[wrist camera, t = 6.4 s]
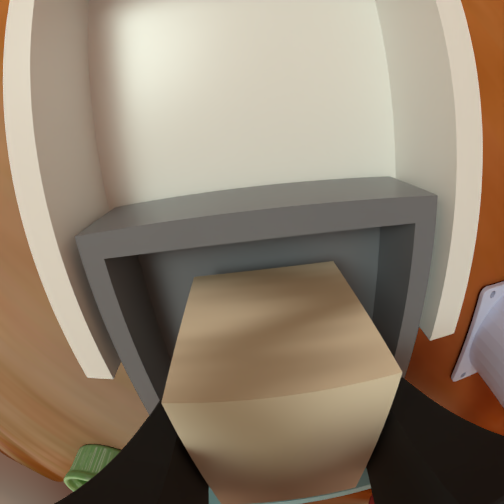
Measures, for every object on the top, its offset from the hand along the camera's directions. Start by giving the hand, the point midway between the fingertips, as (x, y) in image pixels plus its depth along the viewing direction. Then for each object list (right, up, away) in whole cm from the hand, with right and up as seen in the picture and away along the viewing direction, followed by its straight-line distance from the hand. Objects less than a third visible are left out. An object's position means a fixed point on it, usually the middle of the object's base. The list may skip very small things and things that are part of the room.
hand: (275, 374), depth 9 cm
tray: (0, 0, +4) cm, 4 cm away
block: (0, +1, +1) cm, 2 cm away
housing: (-1, +9, +1) cm, 9 cm away
